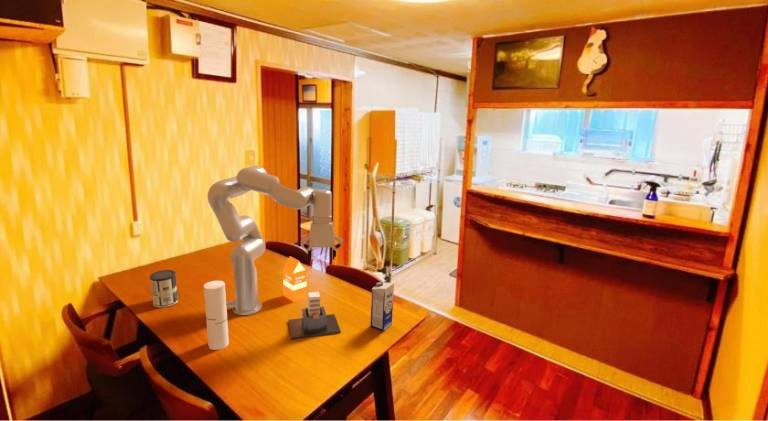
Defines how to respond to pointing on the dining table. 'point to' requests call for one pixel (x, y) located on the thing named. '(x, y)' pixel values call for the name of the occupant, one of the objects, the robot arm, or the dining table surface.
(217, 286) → the cylindrical container
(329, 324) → the stand base
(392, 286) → the milk carton
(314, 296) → the column
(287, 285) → the orange juice
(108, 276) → the dining table surface
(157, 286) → the coffee can
